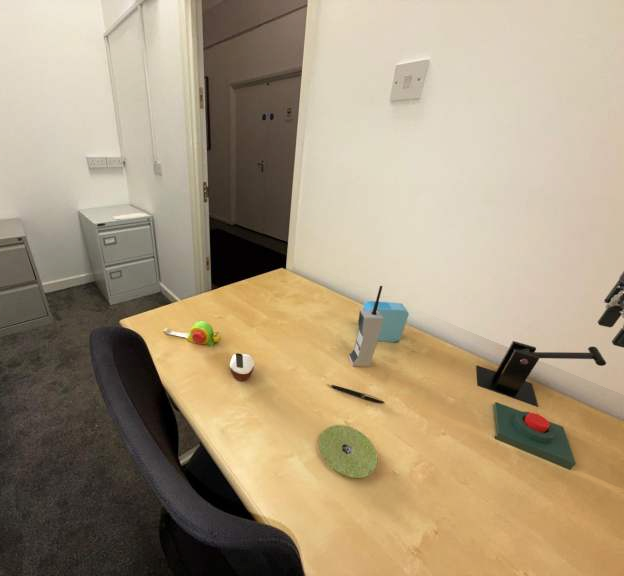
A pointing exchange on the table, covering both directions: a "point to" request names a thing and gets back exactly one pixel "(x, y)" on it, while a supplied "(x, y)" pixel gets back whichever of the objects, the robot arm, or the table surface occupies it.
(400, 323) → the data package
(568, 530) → the table surface
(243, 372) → the cupcake
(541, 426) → the button
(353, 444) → the green grinding wheel
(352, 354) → the vintage mobile phone
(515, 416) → the control block
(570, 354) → the switch lever
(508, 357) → the switch bracket
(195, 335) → the toy measuring tape
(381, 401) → the fountain pen
